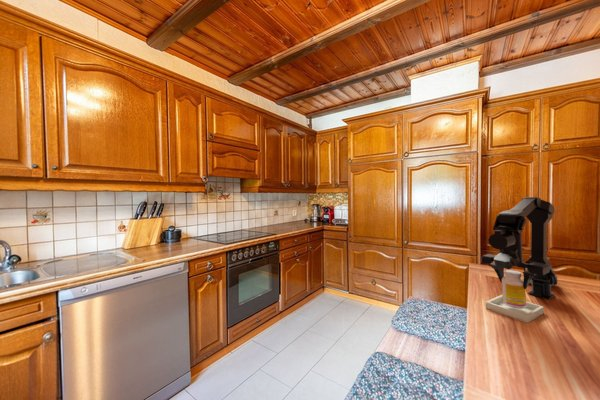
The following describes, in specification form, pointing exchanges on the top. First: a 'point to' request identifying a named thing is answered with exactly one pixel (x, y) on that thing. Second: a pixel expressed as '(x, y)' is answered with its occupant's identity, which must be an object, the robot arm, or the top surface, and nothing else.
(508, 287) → the supplement bottle
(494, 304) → the tray
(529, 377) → the top surface
